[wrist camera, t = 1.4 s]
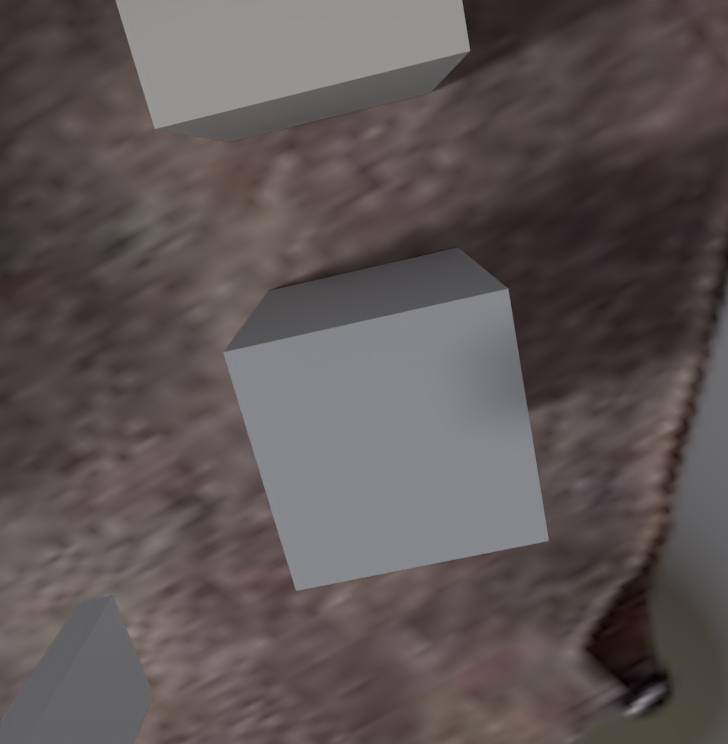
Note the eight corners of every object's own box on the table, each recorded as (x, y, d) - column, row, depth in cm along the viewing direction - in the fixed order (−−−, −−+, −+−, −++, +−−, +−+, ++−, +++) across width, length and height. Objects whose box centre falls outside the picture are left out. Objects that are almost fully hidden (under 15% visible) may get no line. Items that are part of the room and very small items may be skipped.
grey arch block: (315, 461, 31) (296, 590, 22) (268, 290, 29) (222, 352, 19) (490, 424, 31) (548, 540, 21) (458, 247, 28) (508, 288, 19)
